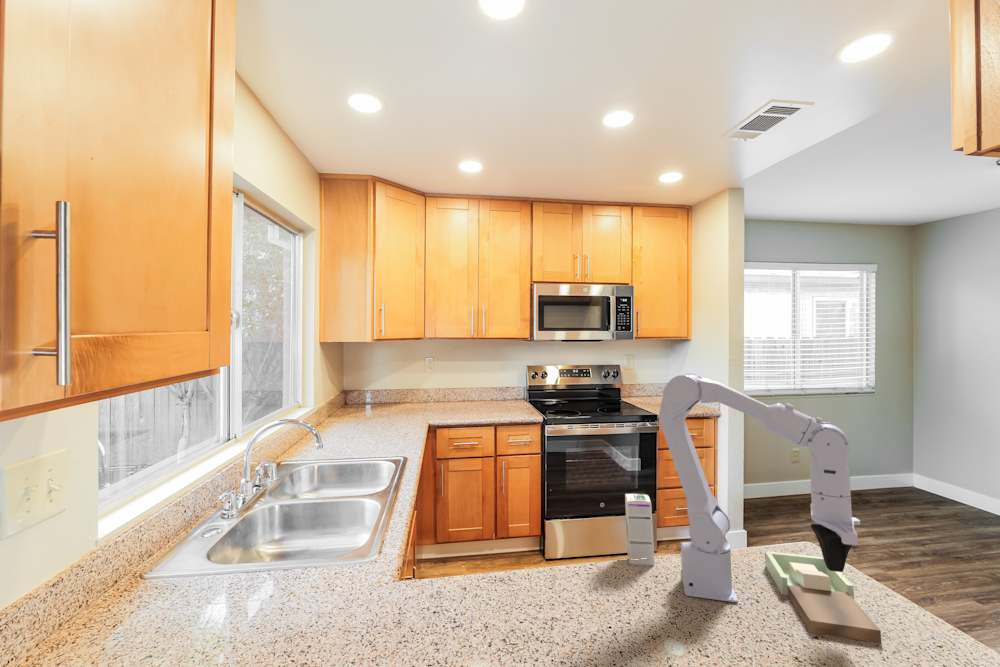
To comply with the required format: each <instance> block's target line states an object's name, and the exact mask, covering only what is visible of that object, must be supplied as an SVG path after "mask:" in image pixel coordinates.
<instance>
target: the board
mask: <svg viewBox="0 0 1000 667" xmlns="http://www.w3.org/2000/svg"><path fill="white" fill-rule="evenodd" d="M787 596H788V597H789V600H790V601H791V602H792V604H793V606H794V608H795V609H796V611H797V612H798V613H799V616H800V617H801V619H802V621H803V622H804V624H805V625H806V628H808V630H809V632H810V633H814V634H818V635H826V636H833V637H839V638H845V639H853V640H860V641H864V642H865V641H866V642H870V643H871V642H873V643H879V644H882V634H881V633H882V632H881V630H880V628H879V627H878V626H877V625H876V624H875V622H874V621H873V620H872V619H871V617H869V616H868V614H867V613H866V612H865V610H863V609H862V607H861V606H860V605H859V604H858V603H857V601H856V600H855V598H854V599H853V598H852V597H851V596H850V595H849V594H848V593H847V592H839V591H826V590H818V589H810V588H804V587H799V586H791V585H788V595H787Z"/></svg>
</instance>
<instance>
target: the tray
mask: <svg viewBox="0 0 1000 667" xmlns="http://www.w3.org/2000/svg"><path fill="white" fill-rule="evenodd" d="M764 558H765V568H766V567H767V568H766V569H768V570H767V571H768V573H769V572H770V573H769V575H770V574H771V575H770V577H771V578H772V579H773V581H774V583H775V585H776V586H777V588H778V590H779V592H780V593H781V595H782V596H783V595H784V596H788V585H791V586H799V587H803V586H802V585H797V584H796V583H795V581H794V580H793V578H792V577H791V575H790V569H789V562H793V563H802V564H811V565H814V566H815V567H816V569H817V570H818V571H820V572H823V573H824V574H826V575H828V576H829V577H830V582H831V590H832V591H839V592H847V593H848V594H849V595H850V596H851V597H852V598H853V599H854V600H855V594H854V593H855V591H854V585H853V584H852V583H851V582H850V580H849V579H848V578H847V577H846V576H845V575H844V574H843V572H837V571H830V570H829V569H828V568H827V567H826V564H825V561H824V558H823V556H813V555H805V554H795V553H785V552H779V551H777V552H776V551H769V550H767V551H764Z"/></svg>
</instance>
